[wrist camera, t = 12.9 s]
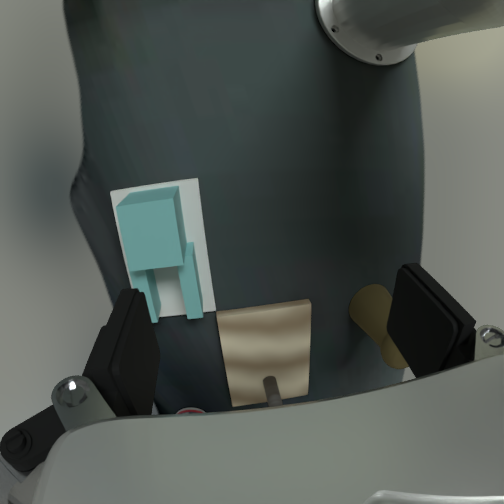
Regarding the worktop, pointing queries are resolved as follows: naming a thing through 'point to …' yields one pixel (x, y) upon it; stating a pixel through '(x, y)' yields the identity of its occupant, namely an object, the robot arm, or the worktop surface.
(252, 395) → the stand
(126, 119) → the worktop surface
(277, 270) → the worktop surface
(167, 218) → the link
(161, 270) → the mat
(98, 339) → the robot arm
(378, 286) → the cork
